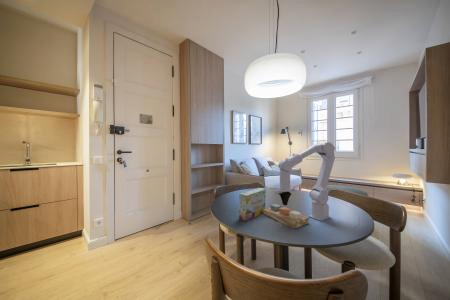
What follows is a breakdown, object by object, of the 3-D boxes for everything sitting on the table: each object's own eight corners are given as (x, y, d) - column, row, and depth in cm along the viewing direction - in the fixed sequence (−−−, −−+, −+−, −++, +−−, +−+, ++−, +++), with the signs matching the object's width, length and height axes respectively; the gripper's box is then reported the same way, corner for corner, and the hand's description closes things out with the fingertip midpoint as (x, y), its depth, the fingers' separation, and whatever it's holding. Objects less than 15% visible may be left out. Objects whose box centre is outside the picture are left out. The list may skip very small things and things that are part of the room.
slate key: (275, 210, 111) (275, 203, 111) (281, 212, 107) (281, 205, 107) (270, 211, 108) (270, 205, 108) (276, 213, 105) (276, 207, 105)
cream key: (294, 217, 99) (294, 210, 98) (301, 220, 95) (301, 213, 95) (289, 219, 96) (289, 212, 96) (296, 222, 92) (296, 214, 92)
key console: (277, 210, 114) (277, 206, 114) (308, 223, 95) (308, 217, 95) (264, 214, 108) (263, 209, 108) (294, 228, 89) (294, 222, 89)
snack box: (246, 222, 97) (246, 195, 96) (238, 219, 100) (238, 193, 100) (265, 211, 112) (265, 188, 112) (258, 209, 116) (258, 187, 116)
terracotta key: (284, 213, 105) (284, 207, 104) (290, 216, 101) (290, 209, 101) (279, 215, 102) (279, 208, 102) (285, 217, 99) (285, 210, 98)
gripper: (287, 179, 108) (287, 200, 109) (270, 181, 101) (270, 204, 101) (297, 180, 102) (297, 204, 102) (280, 183, 95) (280, 208, 95)
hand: (284, 204), depth 101 cm, fingers closed
